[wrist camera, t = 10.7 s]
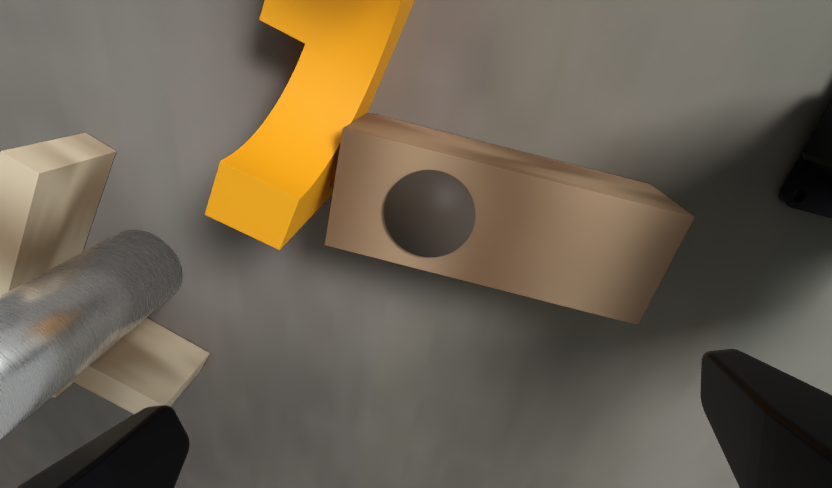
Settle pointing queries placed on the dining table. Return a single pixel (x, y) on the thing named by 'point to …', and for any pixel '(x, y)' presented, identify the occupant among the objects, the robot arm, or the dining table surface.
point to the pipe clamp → (307, 114)
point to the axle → (77, 316)
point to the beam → (502, 218)
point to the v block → (64, 239)
